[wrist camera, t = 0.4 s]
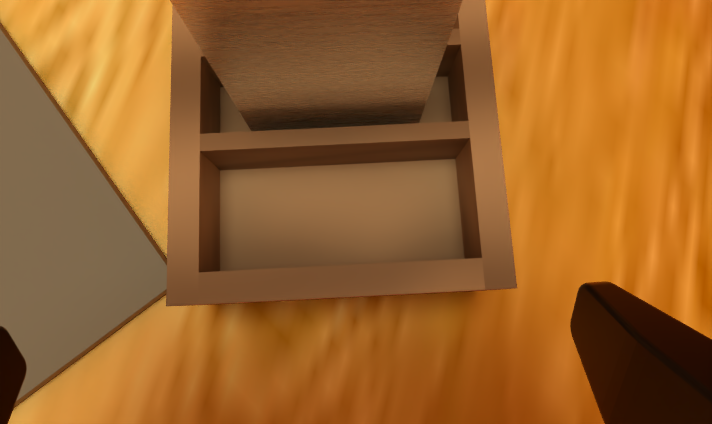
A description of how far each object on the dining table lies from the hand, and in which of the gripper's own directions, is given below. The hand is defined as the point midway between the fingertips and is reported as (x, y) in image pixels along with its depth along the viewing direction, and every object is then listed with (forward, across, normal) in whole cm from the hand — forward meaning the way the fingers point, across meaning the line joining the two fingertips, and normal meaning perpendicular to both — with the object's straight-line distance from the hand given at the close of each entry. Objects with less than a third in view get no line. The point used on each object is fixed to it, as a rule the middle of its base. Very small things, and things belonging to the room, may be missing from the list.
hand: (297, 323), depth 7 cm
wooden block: (+12, -1, +1) cm, 12 cm away
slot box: (+14, -1, +3) cm, 14 cm away
